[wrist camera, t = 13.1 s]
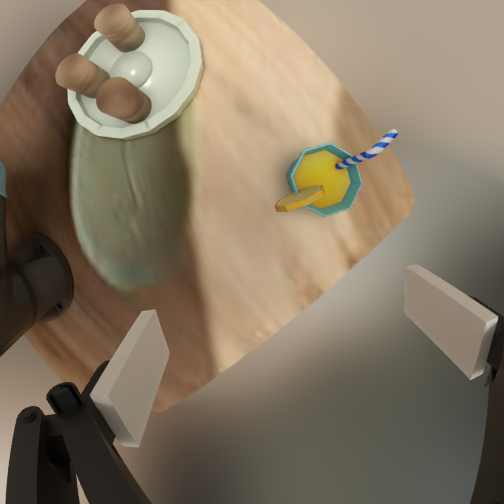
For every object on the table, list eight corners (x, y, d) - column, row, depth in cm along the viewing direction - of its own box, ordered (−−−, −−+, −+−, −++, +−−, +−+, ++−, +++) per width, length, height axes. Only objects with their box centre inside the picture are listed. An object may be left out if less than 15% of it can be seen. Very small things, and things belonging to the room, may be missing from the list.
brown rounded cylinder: (84, 102, 34) (55, 92, 26) (83, 76, 32) (55, 61, 25) (111, 92, 33) (85, 78, 26) (109, 65, 32) (85, 48, 25)
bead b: (116, 56, 32) (93, 37, 24) (116, 32, 31) (94, 11, 23) (146, 47, 32) (127, 24, 24) (144, 23, 31) (127, -2, 23)
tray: (81, 155, 36) (72, 154, 34) (75, 42, 31) (68, 37, 29) (211, 121, 36) (210, 117, 34) (195, 4, 31) (193, -4, 29)
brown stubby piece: (119, 97, 34) (95, 83, 26) (150, 89, 34) (130, 71, 26) (122, 127, 35) (97, 119, 27) (153, 119, 35) (133, 107, 27)
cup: (329, 121, 37) (375, 97, 22) (363, 164, 38) (421, 163, 24) (252, 185, 39) (260, 192, 24) (290, 227, 41) (317, 259, 26)
